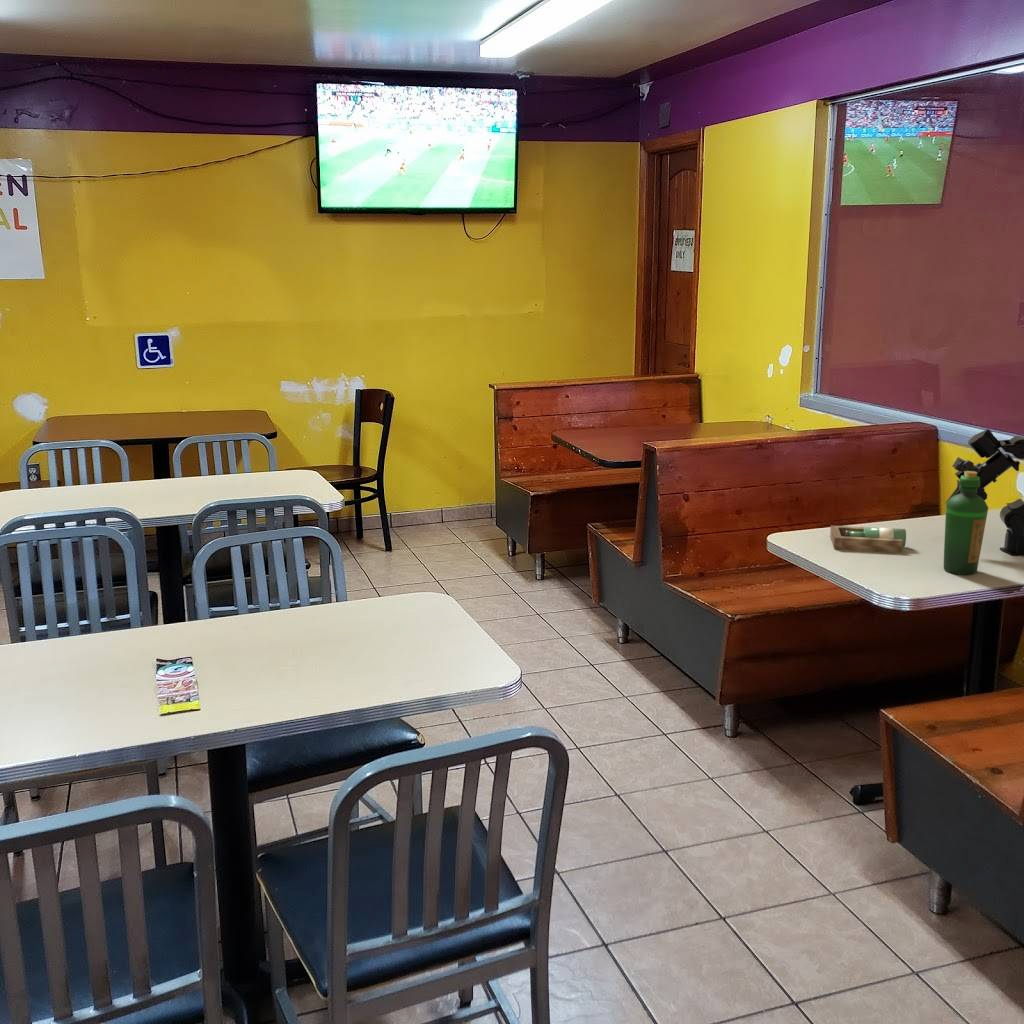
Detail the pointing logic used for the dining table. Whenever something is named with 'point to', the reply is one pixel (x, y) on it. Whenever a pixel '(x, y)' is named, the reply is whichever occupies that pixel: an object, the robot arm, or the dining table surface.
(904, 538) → the bottle
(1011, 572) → the dining table surface
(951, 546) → the bottle
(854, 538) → the cradle
